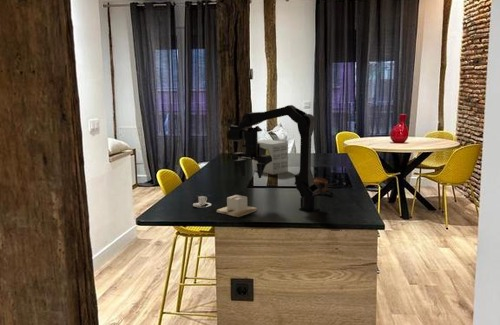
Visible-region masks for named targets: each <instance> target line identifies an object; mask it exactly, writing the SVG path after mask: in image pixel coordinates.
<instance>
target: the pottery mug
mask: <svg viewBox="0 0 500 325" xmlns="http://www.w3.org/2000/svg"><path fill="white" fill-rule="evenodd" d="M313 180H314V184H315V185H316V186H317V187H318V188H319V191H318V193H317V194H316V195H320V194H321V193H326V192H327V191H329V186H330V185H329V181H328V180H327V178H322V177H313Z"/></svg>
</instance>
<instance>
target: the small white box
mask: <svg viewBox="0 0 500 325" xmlns="http://www.w3.org/2000/svg"><path fill="white" fill-rule="evenodd" d="M247 206H248V196H245V195H240V194H234V195H231V196H228V197H226V207H227V209H228V210H233V211H241V210H244V209H247Z"/></svg>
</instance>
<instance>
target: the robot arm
mask: <svg viewBox="0 0 500 325" xmlns="http://www.w3.org/2000/svg"><path fill="white" fill-rule="evenodd" d="M285 116H288V117H289V118H290V119H291V120H292V121H293V122H294V123H295V124H296V125H297V130H298V133H299V136H300V146H299V147H300V153H299V154H300V155H299V157H300V158H299V160H300V161H299V171H298V172H297V173H296V174H295V175H294V185H295V188H296V190H297V191H298V193H299V195H300V199H299V200H300V204H299V206H300V207H299V210H300V211H306V212H310V213H313V212H315V211H317V210H320V206H319V203H318V202H319V194H317V193H318V191H319V188H318V187H317V186H316V185H315V184H314V180H313V178H314V175H313V172H312V137H313V134H314V130H315V128H316V126H315V125H316V117H315V116H314V115H313V114H311V113H307V112H305V111H303V110H301V109H300V108H297V107H296V106H294V105H292V104H290V105H285V106H282V107H279V108H275V109H269V110H267V111H257V112H256V111H255V112H254V111H253V112H248V113H244V114H243V116H242V118H241V122H240V123H239V124H238V125H233V124H232V125H229V129H228V130H227V134H226V135H227V136H226V137H227V140H228V141H231V142H242V141H244V143H243V144H242V147H244V152H242V151H237V152H233V153H232V154H231V155H230V156H231V160H233V162H234V163H235V164H236V166H237V168H238V169H239V171H240V173H241V175H242V176H246V161H247V160H253V161H254V160H257V162H258V163H257V171H256V172H257V176H258V179H261V178H262V176H263V173H264V172H263V171H264V168H265V166H266V165H267V164H269V163H270V162H272V157H271V155H266V149H264V148H261V147H260V144H258V141H259V140H258V133H259V132H262V131H263V129H262V128H261V127H260V126H259V124H261V123H263V122H265V121H267V120H273V119H276V118H281V117H285ZM253 126H254V127H253Z"/></svg>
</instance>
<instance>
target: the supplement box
mask: <svg viewBox="0 0 500 325" xmlns="http://www.w3.org/2000/svg"><path fill="white" fill-rule="evenodd" d="M258 144H260V147H261V148H264V149H266V155H271V157H272V162H270V163H269V164H267V165H266V166H265V168H264V171H263V173H264V174H269V175H279V174H282V173H288V172H289V142H288V141H284V140H283V141H282V140H276V139H275V140H274V139H262V140H258ZM257 163H258V162H257V160H253V171H255V172H258V171H257Z"/></svg>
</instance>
